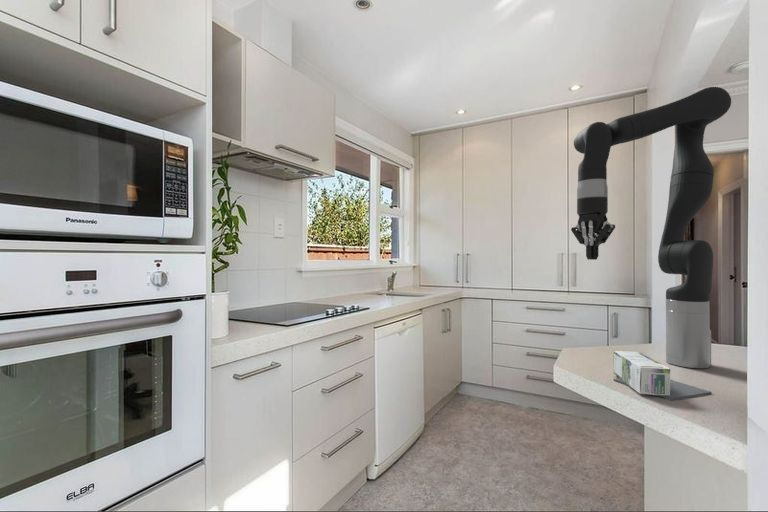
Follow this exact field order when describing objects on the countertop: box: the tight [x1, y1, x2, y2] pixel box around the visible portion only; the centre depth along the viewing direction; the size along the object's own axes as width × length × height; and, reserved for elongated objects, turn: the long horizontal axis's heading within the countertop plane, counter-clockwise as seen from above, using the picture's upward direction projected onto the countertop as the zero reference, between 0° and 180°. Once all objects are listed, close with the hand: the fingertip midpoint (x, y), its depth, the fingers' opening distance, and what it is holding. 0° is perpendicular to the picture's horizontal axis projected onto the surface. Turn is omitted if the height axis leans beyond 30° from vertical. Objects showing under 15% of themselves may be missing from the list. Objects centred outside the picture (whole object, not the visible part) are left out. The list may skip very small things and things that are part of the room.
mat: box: [613, 377, 712, 401], centre depth 84 cm, size 12×13×1 cm
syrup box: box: [612, 350, 671, 396], centre depth 85 cm, size 6×6×14 cm
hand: (592, 259), depth 106 cm, fingers closed
